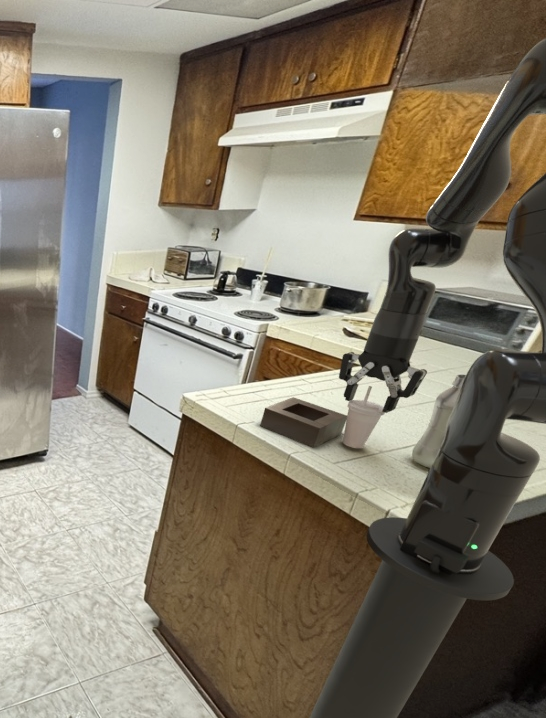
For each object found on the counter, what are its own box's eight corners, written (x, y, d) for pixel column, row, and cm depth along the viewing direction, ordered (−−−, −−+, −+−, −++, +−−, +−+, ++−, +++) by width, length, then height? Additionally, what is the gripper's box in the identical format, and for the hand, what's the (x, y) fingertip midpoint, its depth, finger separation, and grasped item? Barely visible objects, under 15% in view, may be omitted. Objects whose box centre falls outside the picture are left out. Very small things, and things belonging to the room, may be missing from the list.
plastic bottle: (445, 461, 100) (486, 375, 92) (453, 477, 95) (498, 387, 86) (405, 453, 103) (442, 369, 95) (411, 468, 98) (451, 380, 90)
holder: (313, 447, 106) (320, 428, 104) (259, 425, 116) (264, 407, 114) (341, 434, 111) (348, 415, 109) (287, 414, 121) (293, 397, 119)
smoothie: (338, 434, 110) (357, 379, 104) (373, 444, 106) (395, 387, 100) (332, 444, 106) (352, 387, 100) (368, 454, 102) (391, 395, 96)
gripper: (345, 326, 99) (321, 397, 106) (432, 344, 88) (399, 422, 95) (362, 321, 103) (338, 391, 109) (449, 337, 91) (416, 414, 98)
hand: (367, 405), depth 102 cm, fingers closed on smoothie, 6 cm apart
